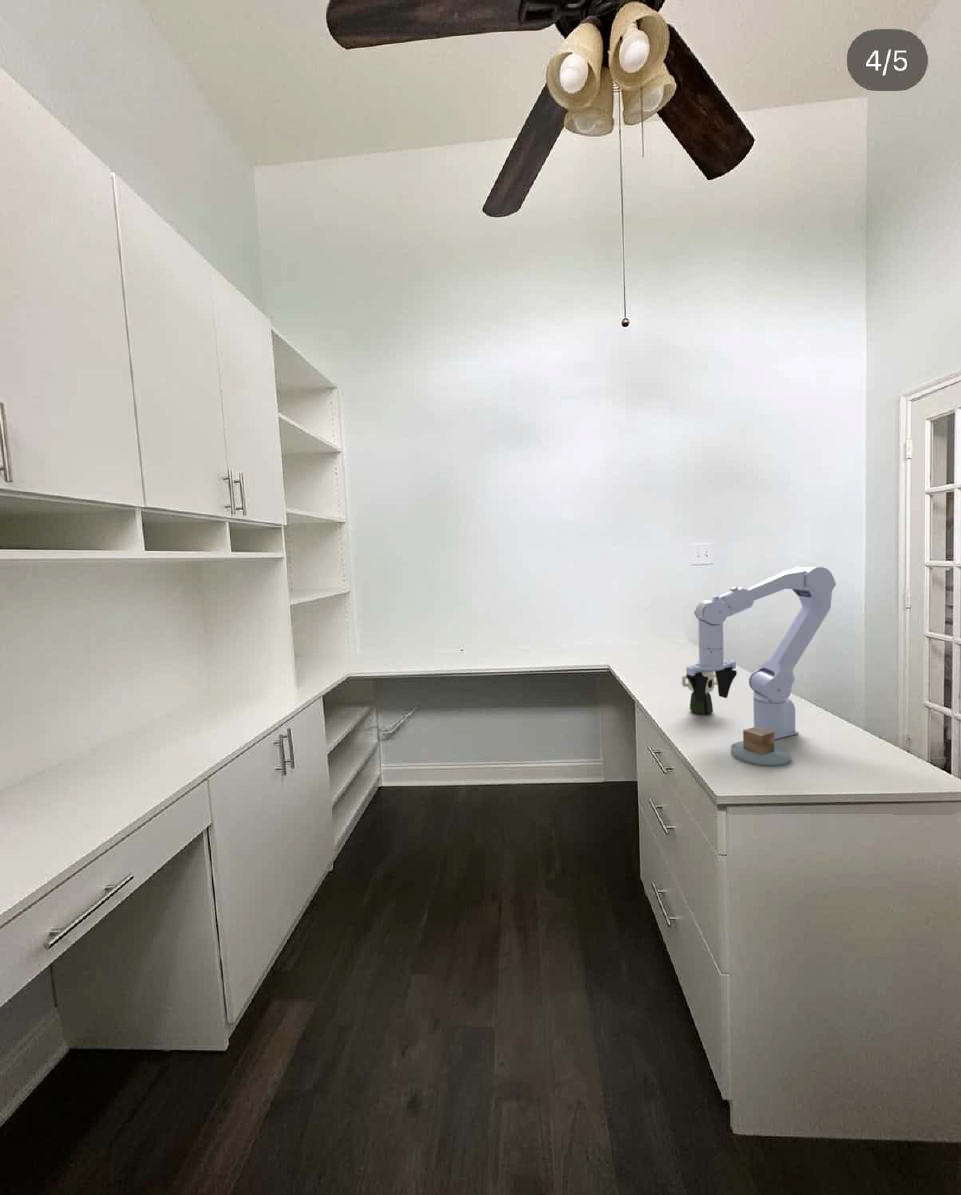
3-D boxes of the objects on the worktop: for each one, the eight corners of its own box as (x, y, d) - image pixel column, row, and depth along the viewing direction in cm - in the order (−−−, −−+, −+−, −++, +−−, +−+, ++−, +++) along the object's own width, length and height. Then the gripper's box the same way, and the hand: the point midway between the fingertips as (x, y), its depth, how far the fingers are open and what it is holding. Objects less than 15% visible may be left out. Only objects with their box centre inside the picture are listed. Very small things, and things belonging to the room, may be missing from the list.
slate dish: (756, 742, 123) (756, 737, 123) (803, 759, 112) (803, 754, 112) (719, 751, 119) (719, 746, 119) (763, 770, 108) (763, 765, 108)
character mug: (687, 717, 144) (686, 672, 143) (678, 709, 151) (677, 667, 150) (725, 715, 144) (724, 670, 143) (714, 707, 151) (713, 665, 150)
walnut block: (756, 745, 119) (756, 726, 118) (774, 751, 115) (774, 732, 114) (743, 748, 117) (743, 730, 117) (761, 755, 113) (760, 735, 113)
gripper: (720, 642, 134) (720, 691, 136) (677, 648, 129) (678, 699, 130) (742, 645, 128) (742, 697, 129) (698, 652, 123) (699, 706, 124)
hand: (711, 699), depth 129 cm, fingers open, 7 cm apart
